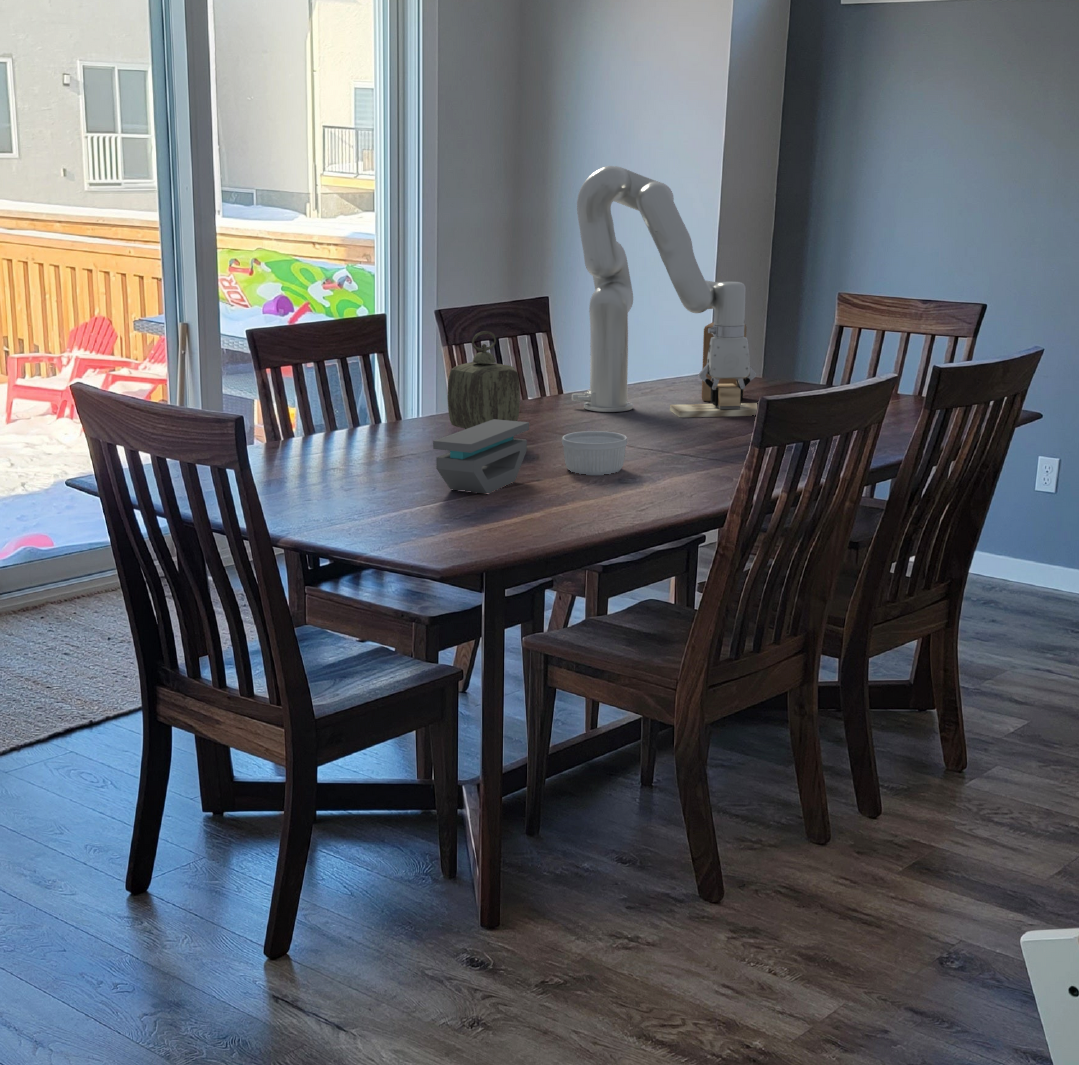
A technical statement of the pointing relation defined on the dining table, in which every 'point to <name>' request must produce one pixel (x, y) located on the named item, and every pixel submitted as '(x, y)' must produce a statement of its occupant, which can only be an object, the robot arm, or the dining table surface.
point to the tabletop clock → (483, 390)
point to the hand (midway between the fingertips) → (726, 403)
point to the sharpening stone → (482, 456)
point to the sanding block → (728, 396)
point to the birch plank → (712, 410)
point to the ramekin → (594, 452)
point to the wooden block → (706, 341)
